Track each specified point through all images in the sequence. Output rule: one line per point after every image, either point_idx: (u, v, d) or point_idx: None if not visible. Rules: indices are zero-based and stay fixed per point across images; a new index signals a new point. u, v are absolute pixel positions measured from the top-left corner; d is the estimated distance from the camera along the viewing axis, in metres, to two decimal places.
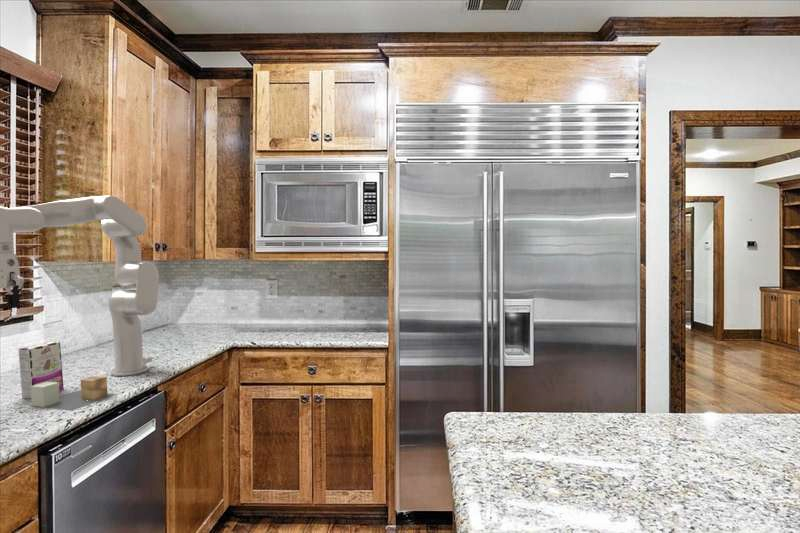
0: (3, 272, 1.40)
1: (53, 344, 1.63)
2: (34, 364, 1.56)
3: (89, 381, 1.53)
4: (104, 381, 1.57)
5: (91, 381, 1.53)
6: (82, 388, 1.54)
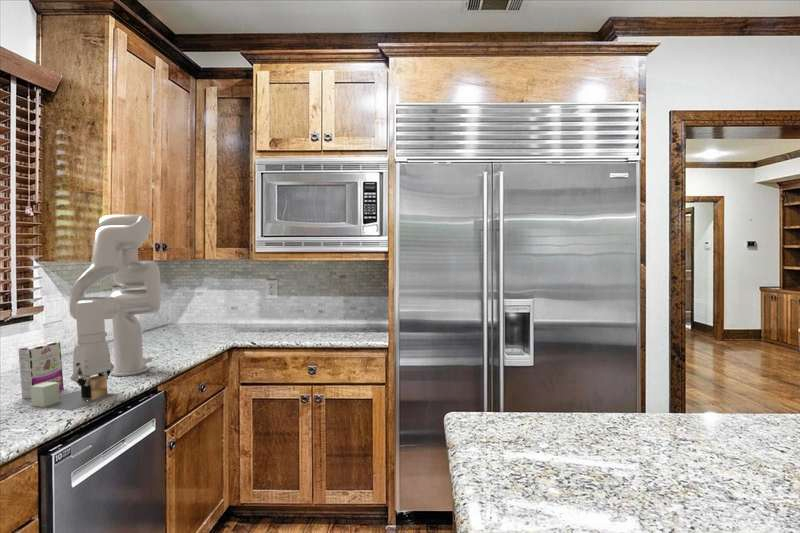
0: (109, 356, 1.59)
1: (53, 344, 1.63)
2: (34, 364, 1.56)
3: (89, 381, 1.53)
4: (104, 381, 1.57)
5: (91, 381, 1.53)
6: None
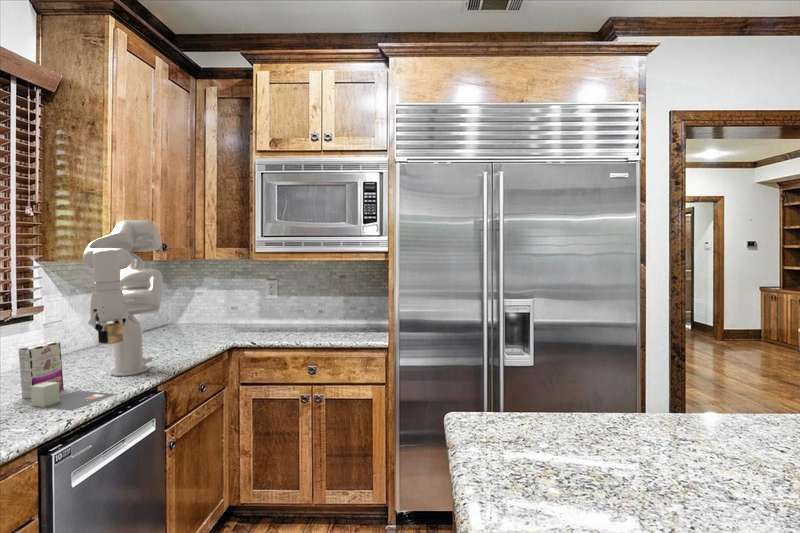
0: (124, 304, 1.66)
1: (53, 344, 1.63)
2: (34, 364, 1.56)
3: (106, 327, 1.61)
4: (119, 328, 1.64)
5: (108, 327, 1.60)
6: None
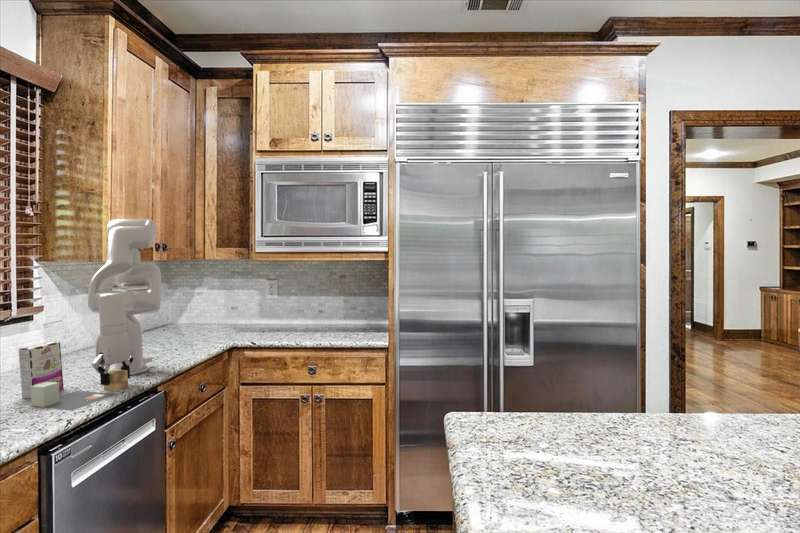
0: (129, 346, 1.68)
1: (53, 344, 1.63)
2: (34, 364, 1.56)
3: (111, 374, 1.62)
4: (125, 375, 1.66)
5: (113, 374, 1.62)
6: None
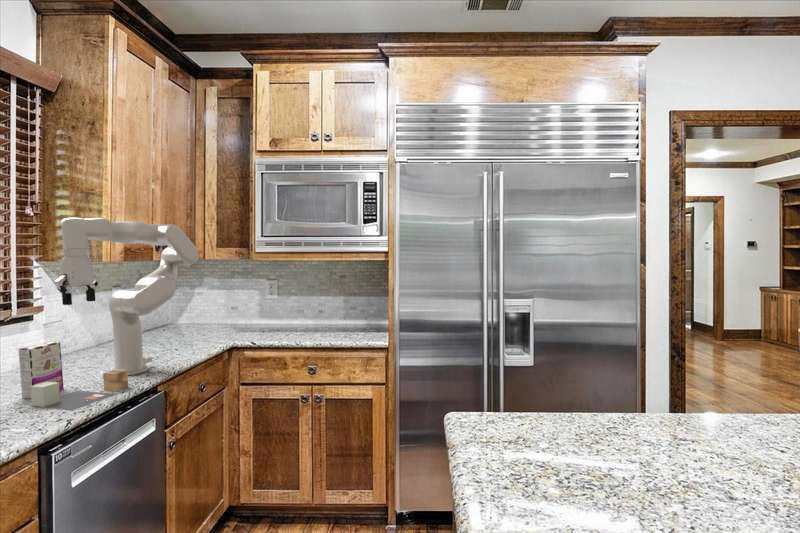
0: None
1: (53, 344, 1.63)
2: (34, 364, 1.56)
3: (111, 374, 1.62)
4: (125, 375, 1.66)
5: (113, 374, 1.62)
6: (105, 381, 1.63)
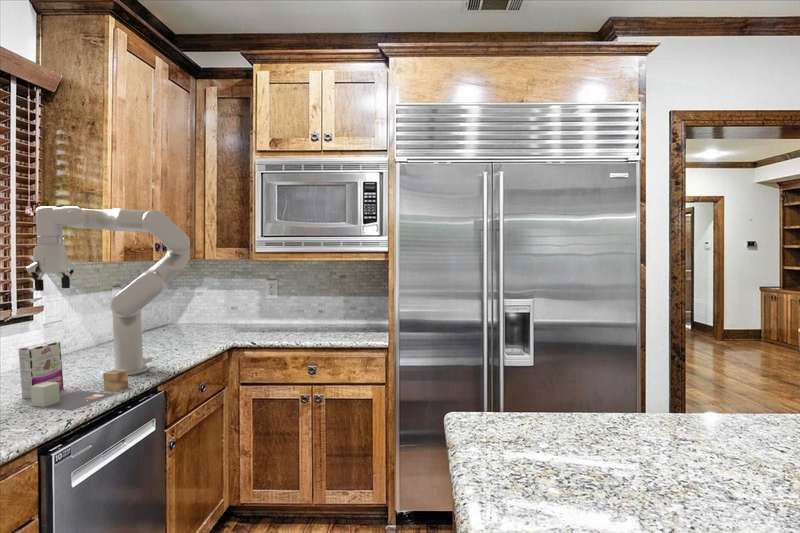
0: (67, 259, 1.79)
1: (53, 344, 1.63)
2: (34, 364, 1.56)
3: (111, 374, 1.62)
4: (125, 375, 1.66)
5: (113, 374, 1.62)
6: (105, 381, 1.63)
